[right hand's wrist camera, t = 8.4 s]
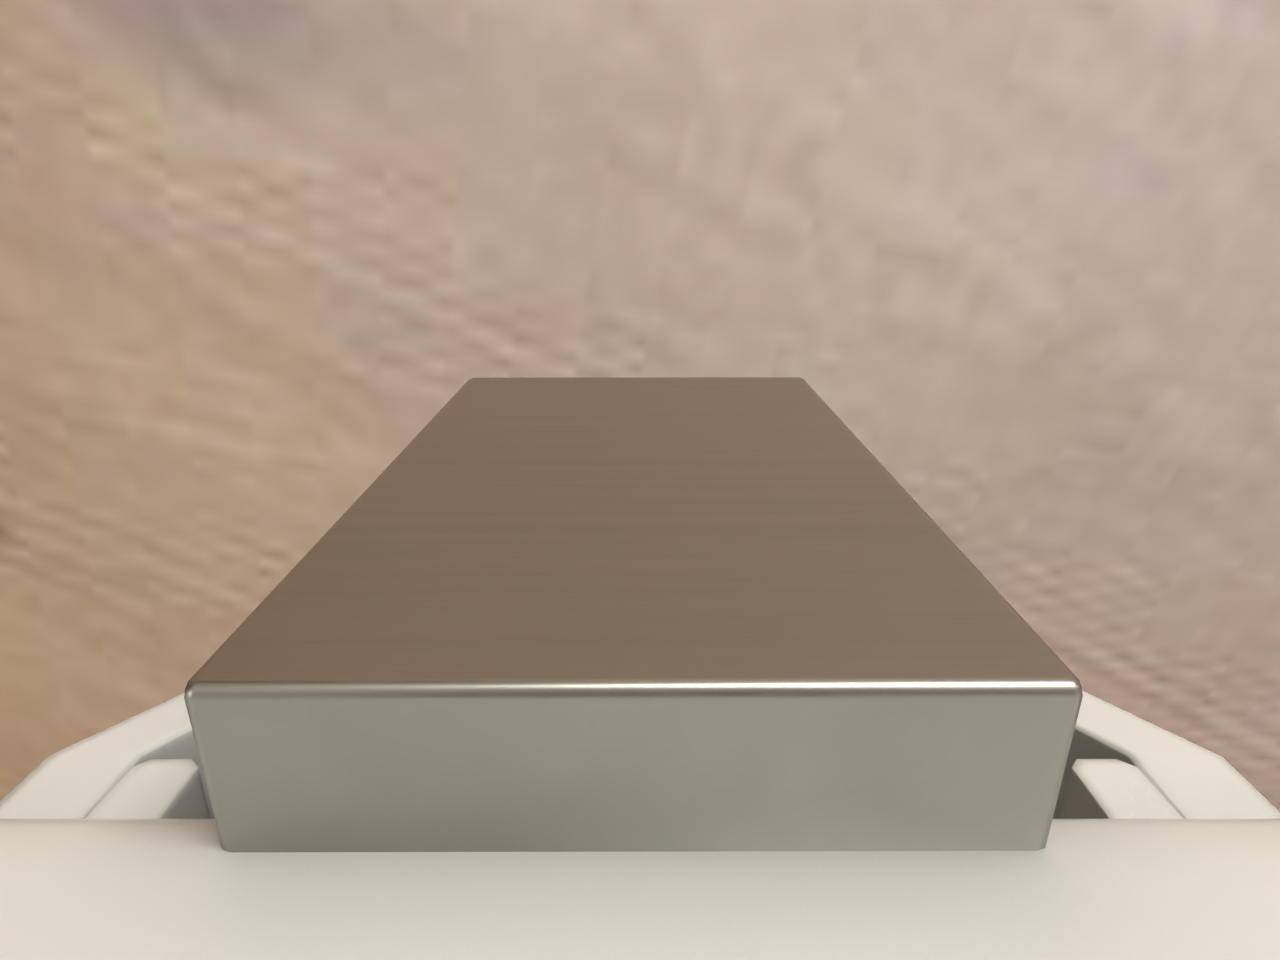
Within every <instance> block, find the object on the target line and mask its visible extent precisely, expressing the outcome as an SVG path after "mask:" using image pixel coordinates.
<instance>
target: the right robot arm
mask: <svg viewBox="0 0 1280 960" xmlns="http://www.w3.org/2000/svg"><path fill="white" fill-rule="evenodd" d="M1082 694H1083V698H1082V702H1081V706H1080V710H1079V714H1078V718H1077V722H1076V726H1075V730H1074V734H1073V738H1072V742H1071V746H1070V750H1069V754H1068V758H1067V762H1066V767H1065V771H1064V775H1063V779H1062V783H1061V787H1060V791H1059V795H1058V799H1057V803H1056V807H1055V811H1054V815H1053V819H1052V823H1051V827H1050V832H1049V836H1048V840H1047V844H1046V848H1044V849H1041V850H1038V851H706V852H228V851H225V850H223V849H222V845H221V841H220V837H219V833H218V829H217V825H216V821H215V818H214V814H213V810H212V806H211V802H210V798H209V794H208V790H207V786H206V782H205V778H204V774H203V770H202V766H201V762H200V759H199V755H198V751H197V747H196V743H195V739H194V735H193V731H192V727H191V723H190V719H189V715H188V711H187V707H186V704H185V700H184V695H185V693H182V694H180V695H178V696H176V697H174V698H172V699H170V700H167V701H165V702H163V703H161V704H159V705H157V706H155V707H152V708H150V709H148V710H146V711H144V712H142V713H140V714H137V715H135V716H133V717H131V718H129V719H127V720H125V721H122V722H120V723H118V724H116V725H114V726H112V727H110V728H107V729H105V730H103V731H101V732H99V733H97V734H95V735H92V736H90V737H88V738H86V739H84V740H82V741H80V742H77V743H75V744H73V745H71V746H69V747H67V748H65V749H62V750H60V751H58V752H56V753H54V754H52V755H50V756H48V757H47V758H46V759H45V760H44V761H43V762H42V763H41V764H40V765H39V766H38V767H37V768H35V769H34V770H33V771H32V772H31V773H30V774H29V775H28V776H27V777H26V778H25V779H24V780H23V781H22V782H21V783H19V784H18V785H17V786H16V787H15V788H14V789H13V790H12V791H11V792H10V793H9V794H8V795H7V796H6V797H5V798H3V799H2V800H1V801H0V960H1280V812H1279V811H1278V810H1277V809H1276V808H1275V807H1274V806H1273V805H1272V804H1271V803H1270V802H1269V801H1268V800H1267V799H1266V798H1265V797H1263V796H1262V795H1261V794H1260V793H1259V792H1258V791H1257V790H1256V789H1255V788H1254V787H1253V786H1252V785H1251V784H1250V783H1249V782H1248V781H1247V780H1246V779H1245V778H1244V777H1243V776H1242V775H1241V774H1240V773H1239V772H1237V771H1236V770H1235V769H1234V768H1233V767H1232V766H1231V765H1230V764H1229V763H1228V762H1227V761H1226V760H1225V759H1224V758H1223V757H1221V756H1219V755H1217V754H1215V753H1213V752H1211V751H1209V750H1207V749H1205V748H1202V747H1200V746H1198V745H1196V744H1194V743H1192V742H1190V741H1188V740H1186V739H1183V738H1181V737H1179V736H1177V735H1175V734H1173V733H1171V732H1169V731H1166V730H1164V729H1162V728H1160V727H1158V726H1156V725H1154V724H1152V723H1150V722H1147V721H1145V720H1143V719H1141V718H1139V717H1137V716H1135V715H1133V714H1131V713H1128V712H1126V711H1124V710H1122V709H1120V708H1118V707H1116V706H1114V705H1111V704H1109V703H1107V702H1105V701H1103V700H1101V699H1099V698H1097V697H1095V696H1092V695H1090V694H1088V693H1086V692H1084V691H1082Z"/></svg>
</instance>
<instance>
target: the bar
mask: <svg viewBox="0 0 1280 960" xmlns="http://www.w3.org/2000/svg"><path fill="white" fill-rule="evenodd" d="M1082 698H1083V694H1082V687H1081V684H1080V682H1079V679H1078V678H1077V677H1076V676H1075V675H1074V674H1073V673H1072V672H1071V671H1070V670H1069V668H1068V667H1067V666H1066V665H1065V664H1064V663H1063V662H1062V661H1061V660H1060V659H1059V658H1058V656H1057V655H1056V654H1055V653H1054V652H1053V651H1052V650H1051V649H1050V648H1049V647H1048V646H1047V644H1046V643H1045V642H1044V641H1043V640H1042V639H1041V638H1040V637H1039V636H1038V635H1037V634H1036V632H1035V631H1034V630H1033V629H1032V628H1031V627H1030V626H1029V625H1028V624H1027V623H1026V622H1025V620H1024V619H1023V618H1022V617H1021V616H1020V615H1019V614H1018V613H1017V612H1016V611H1015V610H1014V608H1013V607H1012V606H1011V605H1010V604H1009V603H1008V602H1007V601H1006V600H1005V599H1004V598H1003V596H1002V595H1001V594H1000V593H999V592H998V591H997V590H996V589H995V588H994V587H993V586H992V584H991V583H990V582H989V581H988V580H987V579H986V578H985V577H984V576H983V575H982V574H981V572H980V571H979V570H978V569H977V568H976V567H975V566H974V565H973V564H972V563H971V562H970V560H969V559H968V558H967V557H966V556H965V555H964V554H963V553H962V552H961V551H960V550H959V548H958V547H957V546H956V545H955V544H954V543H953V542H952V541H951V540H950V539H949V538H948V536H947V535H946V534H945V533H944V532H943V531H942V530H941V529H940V528H939V527H938V526H937V524H936V523H935V522H934V521H933V520H932V519H931V518H930V517H929V516H928V515H927V514H926V512H925V511H924V510H923V509H922V508H921V507H920V506H919V505H918V504H917V503H916V502H915V500H914V499H913V498H912V497H911V496H910V495H909V494H908V493H907V492H906V491H905V490H904V488H903V487H902V486H901V485H900V484H899V483H898V482H897V481H896V480H895V479H894V478H893V476H892V475H891V474H890V473H889V472H888V471H887V470H886V469H885V468H884V467H883V466H882V464H881V463H880V462H879V461H878V460H877V459H876V458H875V457H874V456H873V455H872V454H871V452H870V451H869V450H868V449H867V448H866V447H865V446H864V445H863V444H862V443H861V442H860V440H859V439H858V438H857V437H856V436H855V435H854V434H853V433H852V432H851V431H850V430H849V428H848V427H847V426H846V425H845V424H844V423H843V422H842V421H841V420H840V419H839V418H838V416H837V415H836V414H835V413H834V412H833V411H832V410H831V409H830V408H829V407H828V406H827V404H826V403H825V402H824V401H823V400H822V399H821V398H820V397H819V396H818V395H817V394H816V392H815V391H814V390H813V389H812V388H811V387H810V386H809V385H808V384H807V383H806V382H805V380H804V379H802V378H472V379H469V380H468V381H467V382H466V383H465V385H464V386H463V387H462V388H461V389H460V390H459V391H458V392H457V393H456V394H455V395H454V396H453V397H452V399H451V400H450V401H449V402H448V403H447V404H446V405H445V406H444V407H443V408H442V409H441V410H440V411H439V412H438V414H437V415H436V416H435V417H434V418H433V419H432V420H431V421H430V422H429V423H428V424H427V425H426V426H425V428H424V429H423V430H422V431H421V432H420V433H419V434H418V435H417V436H416V437H415V438H414V439H413V440H412V441H411V443H410V444H409V445H408V446H407V447H406V448H405V449H404V450H403V451H402V452H401V453H400V454H399V455H398V457H397V458H396V459H395V460H394V461H393V462H392V463H391V464H390V465H389V466H388V467H387V468H386V469H385V470H384V472H383V473H382V474H381V475H380V476H379V477H378V478H377V479H376V480H375V481H374V482H373V483H372V484H371V486H370V487H369V488H368V489H367V490H366V491H365V492H364V493H363V494H362V495H361V496H360V497H359V498H358V499H357V501H356V502H355V503H354V504H353V505H352V506H351V507H350V508H349V509H348V510H347V511H346V512H345V513H344V515H343V516H342V517H341V518H340V519H339V520H338V521H337V522H336V523H335V524H334V525H333V526H332V527H331V528H330V530H329V531H328V532H327V533H326V534H325V535H324V536H323V537H322V538H321V539H320V540H319V541H318V542H317V544H316V545H315V546H314V547H313V548H312V549H311V550H310V551H309V552H308V553H307V554H306V555H305V556H304V557H303V559H302V560H301V561H300V562H299V563H298V564H297V565H296V566H295V567H294V568H293V569H292V570H291V571H290V573H289V574H288V575H287V576H286V577H285V578H284V579H283V580H282V581H281V582H280V583H279V584H278V585H277V586H276V588H275V589H274V590H273V591H272V592H271V593H270V594H269V595H268V596H267V597H266V598H265V599H264V600H263V602H262V603H261V604H260V605H259V606H258V607H257V608H256V609H255V610H254V611H253V612H252V613H251V614H250V616H249V617H248V618H247V619H246V620H245V621H244V622H243V623H242V624H241V625H240V626H239V627H238V628H237V629H236V631H235V632H234V633H233V634H232V635H231V636H230V637H229V638H228V639H227V640H226V641H225V642H224V643H223V645H222V646H221V647H220V648H219V649H218V650H217V651H216V652H215V653H214V654H213V655H212V656H211V657H210V658H209V660H208V661H207V662H206V663H205V664H204V665H203V666H202V667H201V668H200V669H199V670H198V671H197V672H196V674H195V675H194V676H193V677H192V678H191V679H190V680H189V681H188V683H187V686H186V689H185V695H184V700H185V704H186V707H187V711H188V715H189V719H190V723H191V727H192V731H193V735H194V739H195V743H196V747H197V751H198V755H199V759H200V762H201V766H202V770H203V774H204V778H205V782H206V786H207V790H208V794H209V798H210V802H211V806H212V810H213V814H214V818H215V821H216V825H217V829H218V833H219V837H220V841H221V845H222V849H223V850H225V851H228V852H706V851H1038V850H1041V849H1044V848H1046V844H1047V840H1048V836H1049V832H1050V827H1051V823H1052V819H1053V815H1054V811H1055V807H1056V803H1057V799H1058V795H1059V791H1060V787H1061V783H1062V779H1063V775H1064V771H1065V767H1066V762H1067V758H1068V754H1069V750H1070V746H1071V742H1072V738H1073V734H1074V730H1075V726H1076V722H1077V718H1078V714H1079V710H1080V706H1081V702H1082Z"/></svg>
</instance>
